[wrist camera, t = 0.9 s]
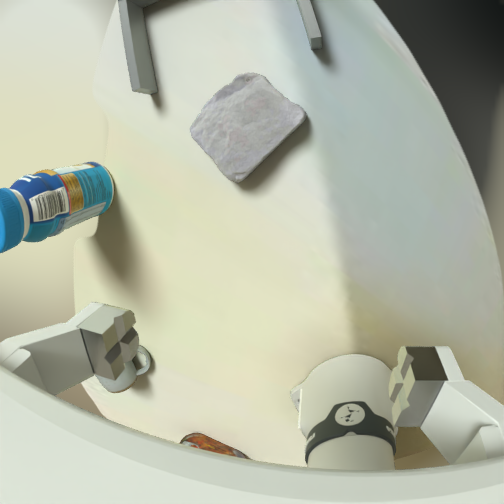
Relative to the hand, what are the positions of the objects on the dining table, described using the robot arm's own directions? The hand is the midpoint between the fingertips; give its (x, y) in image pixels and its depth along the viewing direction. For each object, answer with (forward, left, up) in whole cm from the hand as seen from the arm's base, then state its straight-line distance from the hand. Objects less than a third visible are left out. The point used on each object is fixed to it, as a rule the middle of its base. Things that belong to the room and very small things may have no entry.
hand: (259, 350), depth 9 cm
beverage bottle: (+7, +30, -31) cm, 43 cm away
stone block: (+9, +5, -31) cm, 33 cm away
